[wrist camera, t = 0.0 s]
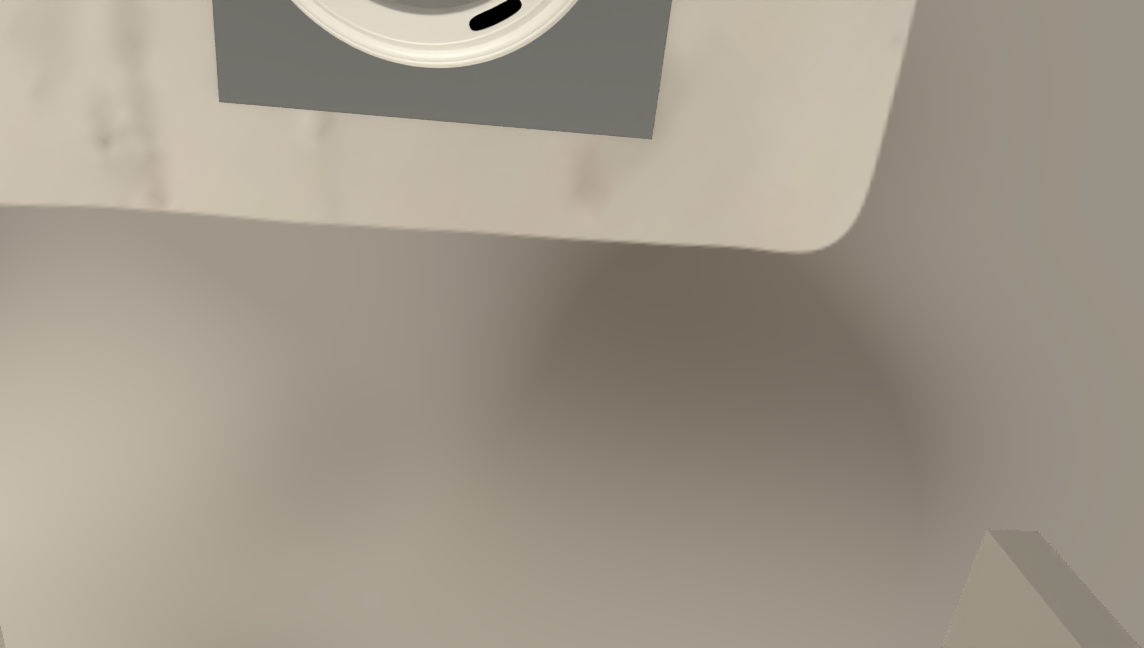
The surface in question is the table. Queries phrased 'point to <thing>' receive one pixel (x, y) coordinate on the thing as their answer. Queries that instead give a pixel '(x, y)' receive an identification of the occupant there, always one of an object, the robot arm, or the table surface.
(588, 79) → the mat
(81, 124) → the table surface
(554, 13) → the coffee cup
